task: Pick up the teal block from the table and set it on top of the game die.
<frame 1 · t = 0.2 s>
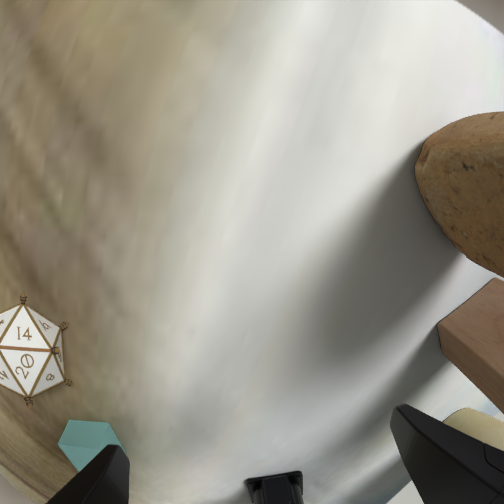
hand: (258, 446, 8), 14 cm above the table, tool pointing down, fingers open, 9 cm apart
game die: (45, 328, 22), on the table
wooden block: (468, 314, 25), on the table
brown piece: (449, 186, 22), on the table
plant pot: (450, 426, 31), on the table
teal block: (97, 435, 25), on the table
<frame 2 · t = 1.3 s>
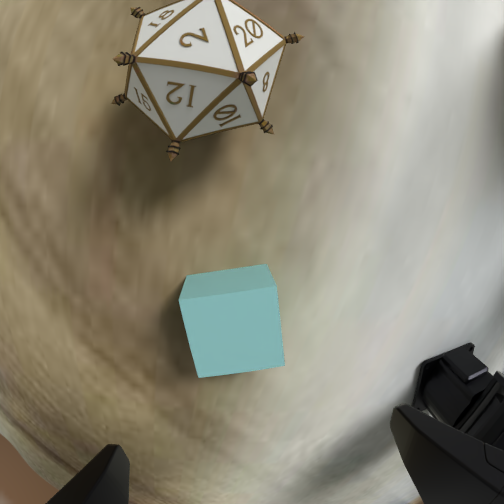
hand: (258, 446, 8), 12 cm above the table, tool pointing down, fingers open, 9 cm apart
game die: (205, 87, 16), on the table
teal block: (232, 305, 20), on the table
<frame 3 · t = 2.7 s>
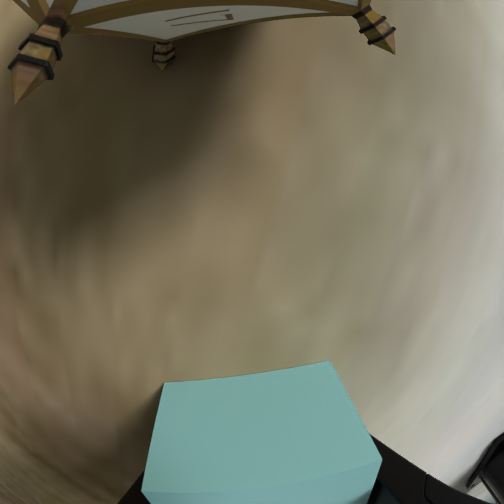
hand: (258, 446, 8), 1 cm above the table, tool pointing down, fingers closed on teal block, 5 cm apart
teal block: (256, 429, 9), on the table, touching gripper
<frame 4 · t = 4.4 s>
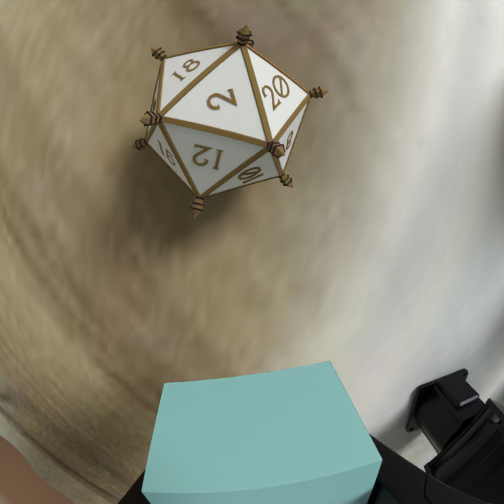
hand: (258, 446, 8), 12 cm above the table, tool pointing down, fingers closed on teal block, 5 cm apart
game die: (224, 128, 17), on the table
teal block: (256, 429, 9), point 11 cm above the table, touching gripper
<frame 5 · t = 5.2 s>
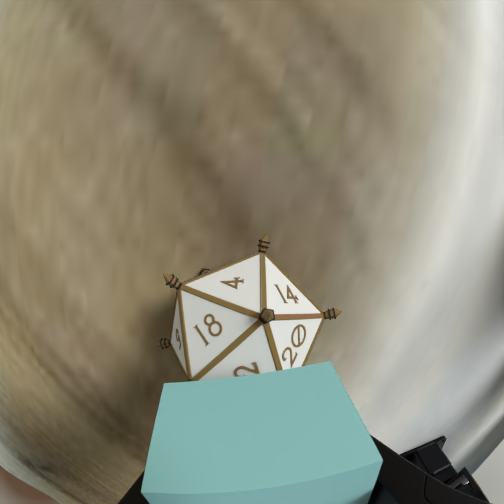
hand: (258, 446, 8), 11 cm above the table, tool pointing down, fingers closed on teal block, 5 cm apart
game die: (238, 299, 19), on the table
teal block: (256, 429, 9), point 10 cm above the table, touching gripper
when the fingers open (10 cm above the table, at t = 5.7 s): teal block drops 2 cm, resting on game die.
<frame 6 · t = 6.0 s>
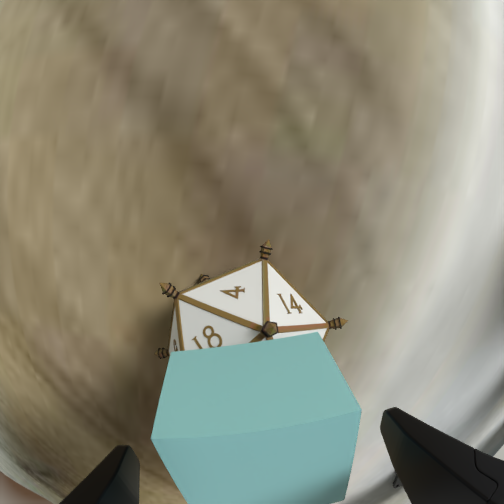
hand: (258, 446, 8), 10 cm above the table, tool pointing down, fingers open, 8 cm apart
game die: (239, 305, 18), on the table, touching teal block
teal block: (253, 397, 11), point 8 cm above the table, touching game die
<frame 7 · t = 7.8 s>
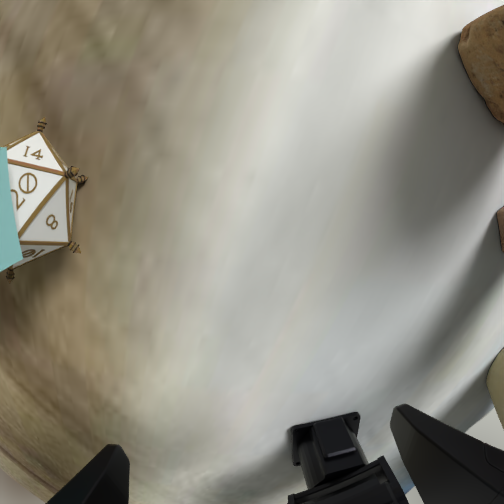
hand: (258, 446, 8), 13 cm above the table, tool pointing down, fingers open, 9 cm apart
game die: (54, 192, 18), on the table, touching teal block
brown piece: (487, 76, 18), on the table
plant pot: (503, 362, 27), on the table
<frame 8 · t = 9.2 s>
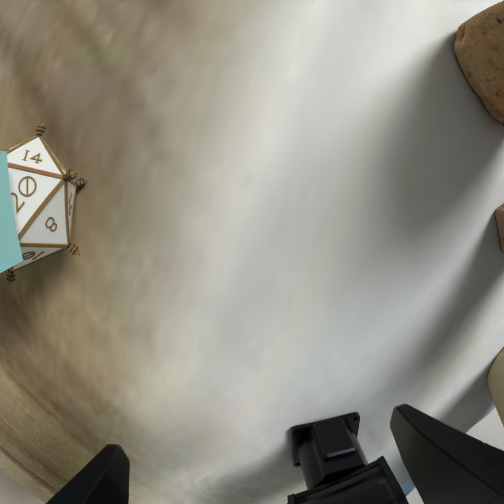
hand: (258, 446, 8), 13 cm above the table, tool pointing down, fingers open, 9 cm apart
game die: (54, 196, 18), on the table, touching teal block
brown piece: (484, 75, 18), on the table
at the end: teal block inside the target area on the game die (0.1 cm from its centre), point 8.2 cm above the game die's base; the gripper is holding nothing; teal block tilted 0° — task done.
